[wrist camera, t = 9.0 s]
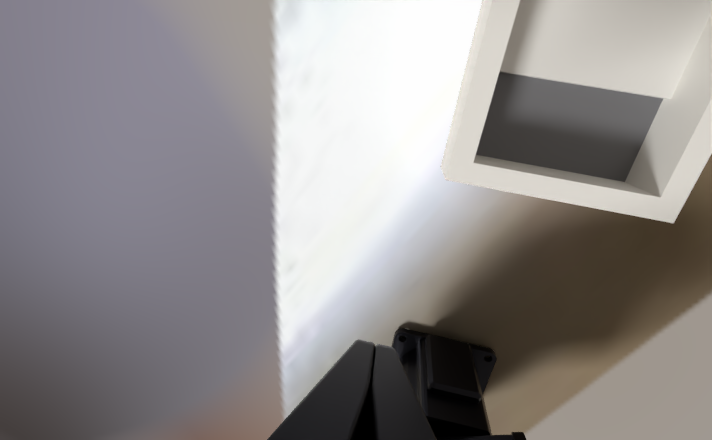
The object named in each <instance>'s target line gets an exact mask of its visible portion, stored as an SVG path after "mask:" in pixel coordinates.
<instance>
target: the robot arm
mask: <svg viewBox="0 0 712 440" xmlns="http://www.w3.org/2000/svg"><path fill="white" fill-rule="evenodd" d="M399 336H405V338H401V337H399ZM485 356H490V357H485ZM495 362H496V355H495V352H494V351H493V350H492V349H490V348H486V347H482V346H477V345H473V344H468V343H465V342H461V341H456V340H452V339H448V338H443V337H439V336H434V335H429V334H425V333H420V332H416V331H412V330H407V329H398V330H397V331H396V332H395V335H394V339H393V343H392V347H389V346H385V345H380V344H377V345H376V346H375V345H374V343H372V342H367V341H363V340H356V341H355V342H354V343H353V344H352V345H351V347H350V348H349V349H348V350H347V351H346V352H345V353H344V354H343V355H342V357H341V358H340V359H339V360H338V361H337V362H336V363H335V364H334V366H333V367H332V368H331V369H330V370H329V371H328V372H327V373H326V374H325V376H324V377H323V378H322V379H321V380H320V381H319V382H318V383H317V384H316V386H315V387H314V388H313V389H312V390H311V391H310V392H309V393H308V395H307V396H306V397H305V398H304V399H303V400H302V401H301V402H300V403H299V405H298V406H297V407H296V408H295V409H294V410H293V411H292V412H291V414H290V415H289V416H288V417H287V418H286V419H285V420H284V421H283V422H282V424H281V425H280V426H279V427H278V428H277V429H276V430H275V431H274V432H273V434H272V435H271V436H270V437H269V438H268V439H267V440H526V438H525V435H524V433H523V432H512V435H492V433H491V429H490V425H489V420H488V416H487V412H486V407H485V403H484V399H483V392H484V390H485V387H486V385H487V382H488V380H489V377H490V375H491V372H492V370H493V367H494V365H495Z"/></svg>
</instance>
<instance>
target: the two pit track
mask: <svg viewBox="0 0 712 440" xmlns="http://www.w3.org/2000/svg"><path fill="white" fill-rule="evenodd" d="M711 154H712V0H483V1H482V5H481V9H480V13H479V16H478V20H477V24H476V28H475V32H474V36H473V40H472V44H471V48H470V52H469V56H468V60H467V64H466V68H465V72H464V76H463V80H462V84H461V88H460V92H459V96H458V100H457V104H456V107H455V111H454V115H453V119H452V123H451V127H450V131H449V135H448V139H447V143H446V147H445V151H444V155H443V159H442V163H441V169H442V172H443V175H444V177H445V180H448V181H453V182H459V183H464V184H469V185H474V186H480V187H485V188H490V189H495V190H501V191H506V192H511V193H516V194H522V195H527V196H532V197H537V198H543V199H548V200H553V201H559V202H564V203H569V204H574V205H580V206H585V207H590V208H595V209H601V210H606V211H611V212H616V213H622V214H627V215H632V216H637V217H643V218H648V219H653V220H658V221H664V222H669V223H674V222H675V220H676V218H677V216H678V214H679V213H680V211H681V209H682V207H683V205H684V203H685V202H686V200H687V198H688V196H689V194H690V192H691V191H692V189H693V187H694V185H695V183H696V181H697V179H698V178H699V176H700V174H701V172H702V170H703V168H704V167H705V165H706V163H707V161H708V159H709V157H710V156H711Z"/></svg>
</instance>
